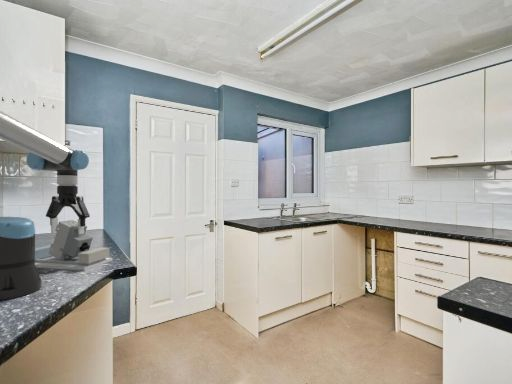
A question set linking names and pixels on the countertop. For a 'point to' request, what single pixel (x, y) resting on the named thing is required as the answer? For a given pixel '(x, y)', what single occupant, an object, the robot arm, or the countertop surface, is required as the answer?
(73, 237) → the circuit breaker
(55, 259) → the rail board
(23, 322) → the countertop surface
